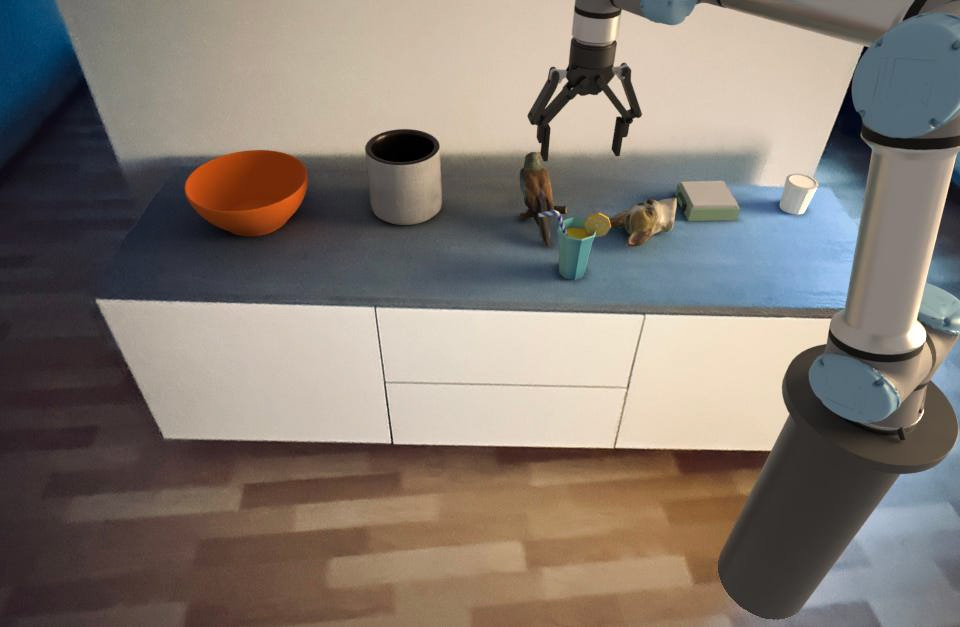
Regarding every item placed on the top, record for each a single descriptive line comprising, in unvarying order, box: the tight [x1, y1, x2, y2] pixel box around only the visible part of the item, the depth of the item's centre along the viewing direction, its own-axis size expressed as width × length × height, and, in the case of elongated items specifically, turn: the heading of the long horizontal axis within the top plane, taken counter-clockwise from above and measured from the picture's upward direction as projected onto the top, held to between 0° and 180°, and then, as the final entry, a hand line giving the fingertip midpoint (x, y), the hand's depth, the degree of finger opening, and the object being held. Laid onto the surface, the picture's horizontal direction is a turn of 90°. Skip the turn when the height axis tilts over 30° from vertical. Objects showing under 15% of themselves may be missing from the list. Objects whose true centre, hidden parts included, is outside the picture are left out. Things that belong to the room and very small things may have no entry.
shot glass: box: [779, 173, 819, 215], centre depth 152 cm, size 7×7×7 cm
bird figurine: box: [519, 151, 568, 248], centre depth 145 cm, size 13×10×20 cm
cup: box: [538, 210, 612, 281], centre depth 131 cm, size 14×8×15 cm, turn 96°
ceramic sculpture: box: [609, 197, 678, 247], centre depth 143 cm, size 11×9×15 cm
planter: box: [364, 128, 443, 226], centre depth 147 cm, size 16×16×16 cm
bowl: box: [184, 149, 309, 237], centre depth 145 cm, size 25×25×10 cm
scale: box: [674, 180, 741, 222], centre depth 153 cm, size 11×12×4 cm
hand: (579, 155), depth 124 cm, fingers open, 13 cm apart
